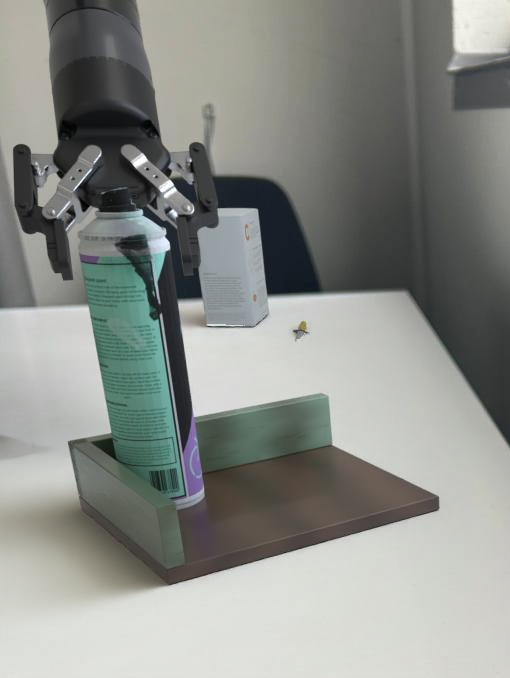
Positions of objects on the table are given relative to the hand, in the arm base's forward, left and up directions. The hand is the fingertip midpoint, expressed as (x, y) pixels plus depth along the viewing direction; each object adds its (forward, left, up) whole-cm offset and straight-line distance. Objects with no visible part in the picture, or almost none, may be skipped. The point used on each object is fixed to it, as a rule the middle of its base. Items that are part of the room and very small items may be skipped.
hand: (128, 271), depth 75 cm
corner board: (+2, -14, -15) cm, 21 cm away
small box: (+30, +48, -15) cm, 58 cm away
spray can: (-4, -11, -14) cm, 18 cm away
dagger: (+32, +35, -15) cm, 49 cm away
